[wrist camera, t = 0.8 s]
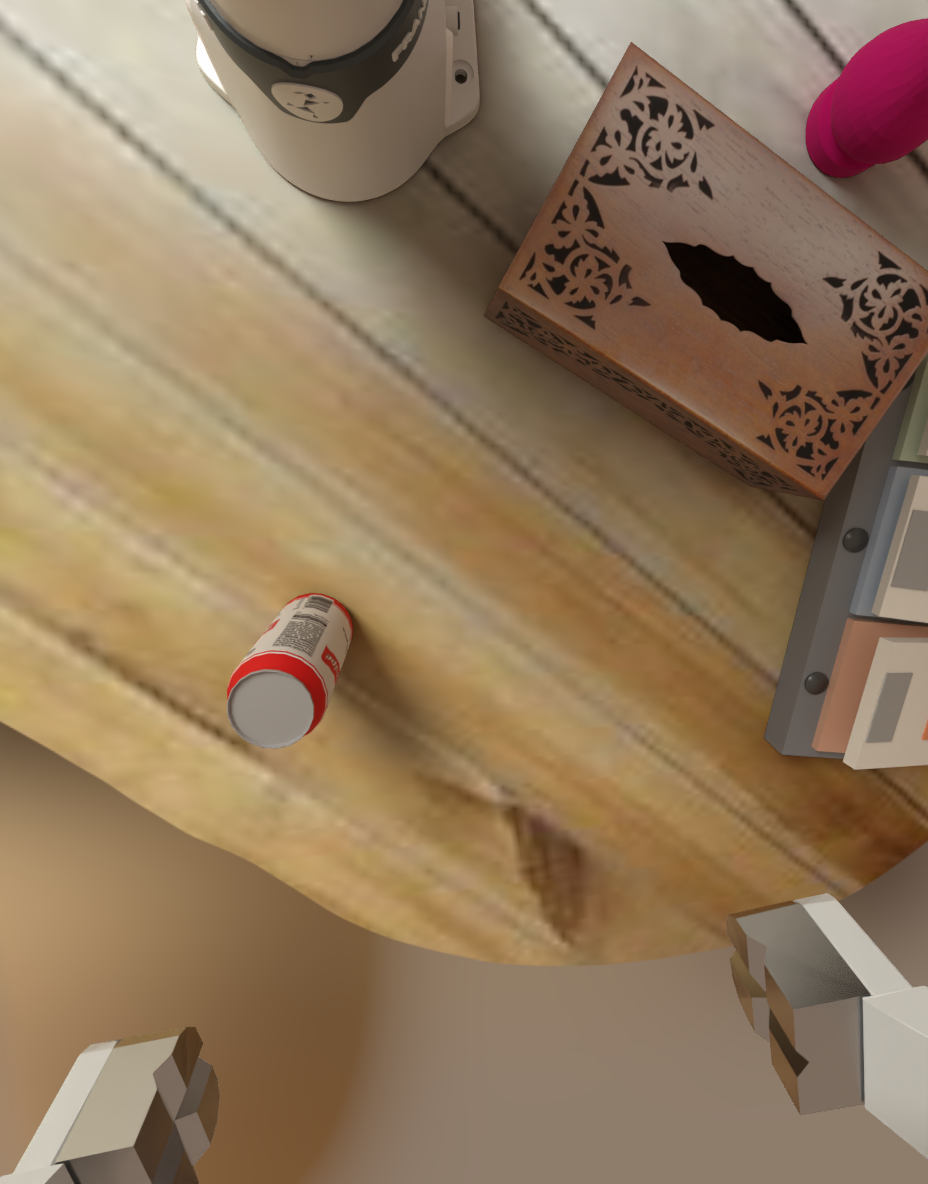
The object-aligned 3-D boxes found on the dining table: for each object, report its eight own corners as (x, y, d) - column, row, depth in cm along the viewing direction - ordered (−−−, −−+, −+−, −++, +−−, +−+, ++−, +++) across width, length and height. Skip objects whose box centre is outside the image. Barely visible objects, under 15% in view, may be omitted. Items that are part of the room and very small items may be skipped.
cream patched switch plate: (879, 637, 48) (895, 643, 47) (963, 638, 50) (980, 643, 49) (842, 761, 51) (856, 770, 50) (923, 756, 53) (938, 765, 52)
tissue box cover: (857, 325, 48) (965, 300, 38) (748, 486, 51) (823, 500, 41) (586, 126, 43) (631, 41, 34) (483, 316, 46) (498, 287, 37)
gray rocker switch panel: (880, 282, 47) (919, 270, 43) (1035, 303, 48) (1085, 293, 44) (763, 737, 57) (787, 759, 53) (894, 747, 58) (925, 768, 54)
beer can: (361, 598, 51) (332, 673, 36) (346, 666, 53) (313, 766, 37) (286, 582, 51) (224, 651, 35) (274, 651, 52) (209, 746, 37)
